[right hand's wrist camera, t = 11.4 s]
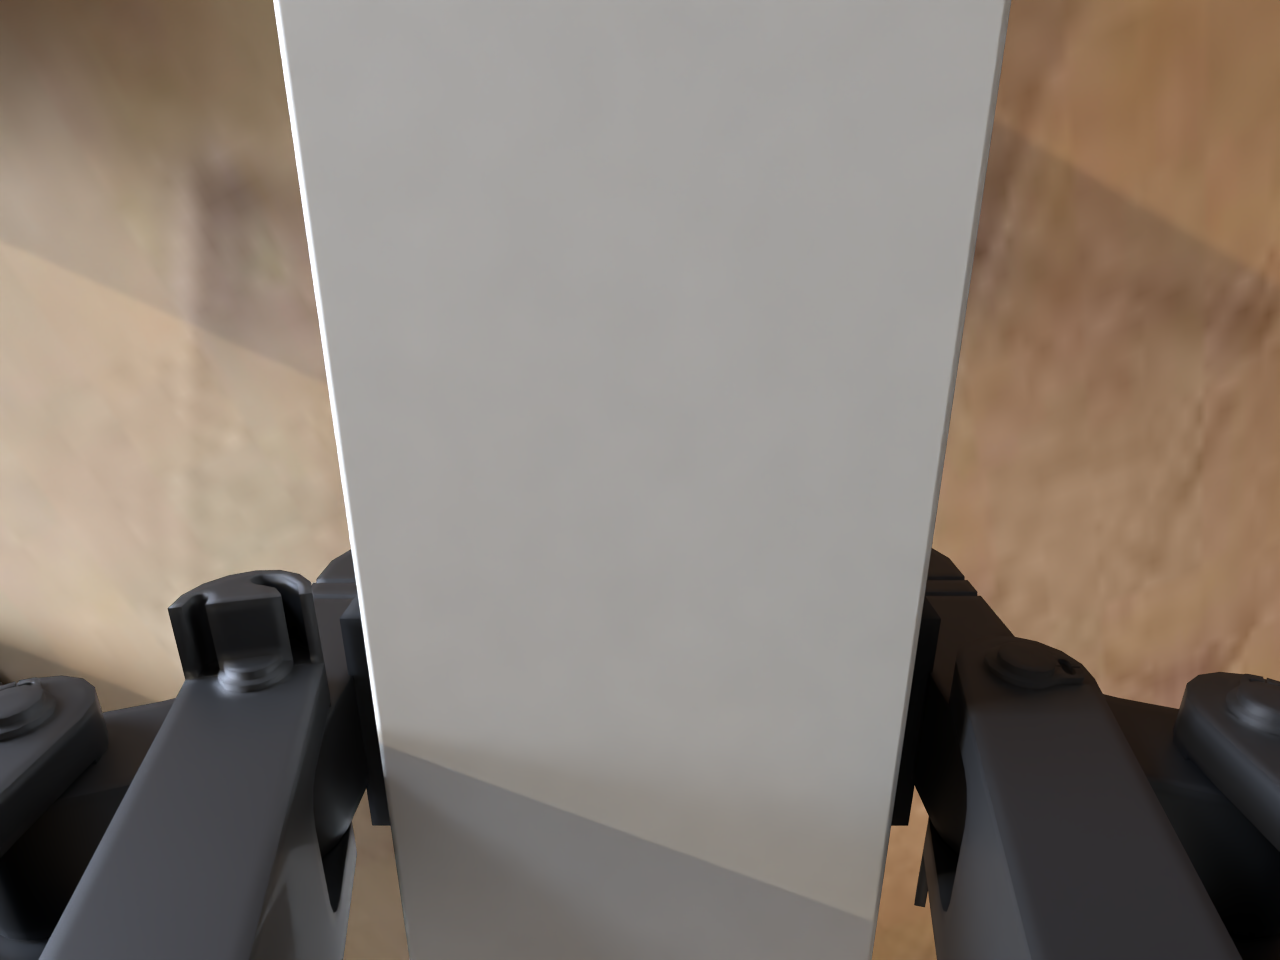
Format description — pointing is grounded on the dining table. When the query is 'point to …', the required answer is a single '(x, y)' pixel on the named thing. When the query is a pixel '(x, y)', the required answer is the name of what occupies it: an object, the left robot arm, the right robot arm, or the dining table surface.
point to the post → (641, 443)
